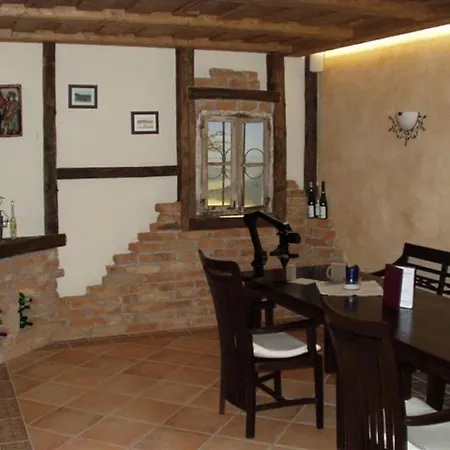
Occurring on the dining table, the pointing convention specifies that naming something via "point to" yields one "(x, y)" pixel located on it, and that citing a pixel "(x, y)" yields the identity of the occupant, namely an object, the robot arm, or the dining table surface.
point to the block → (291, 272)
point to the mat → (303, 281)
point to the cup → (337, 271)
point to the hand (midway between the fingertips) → (284, 268)
